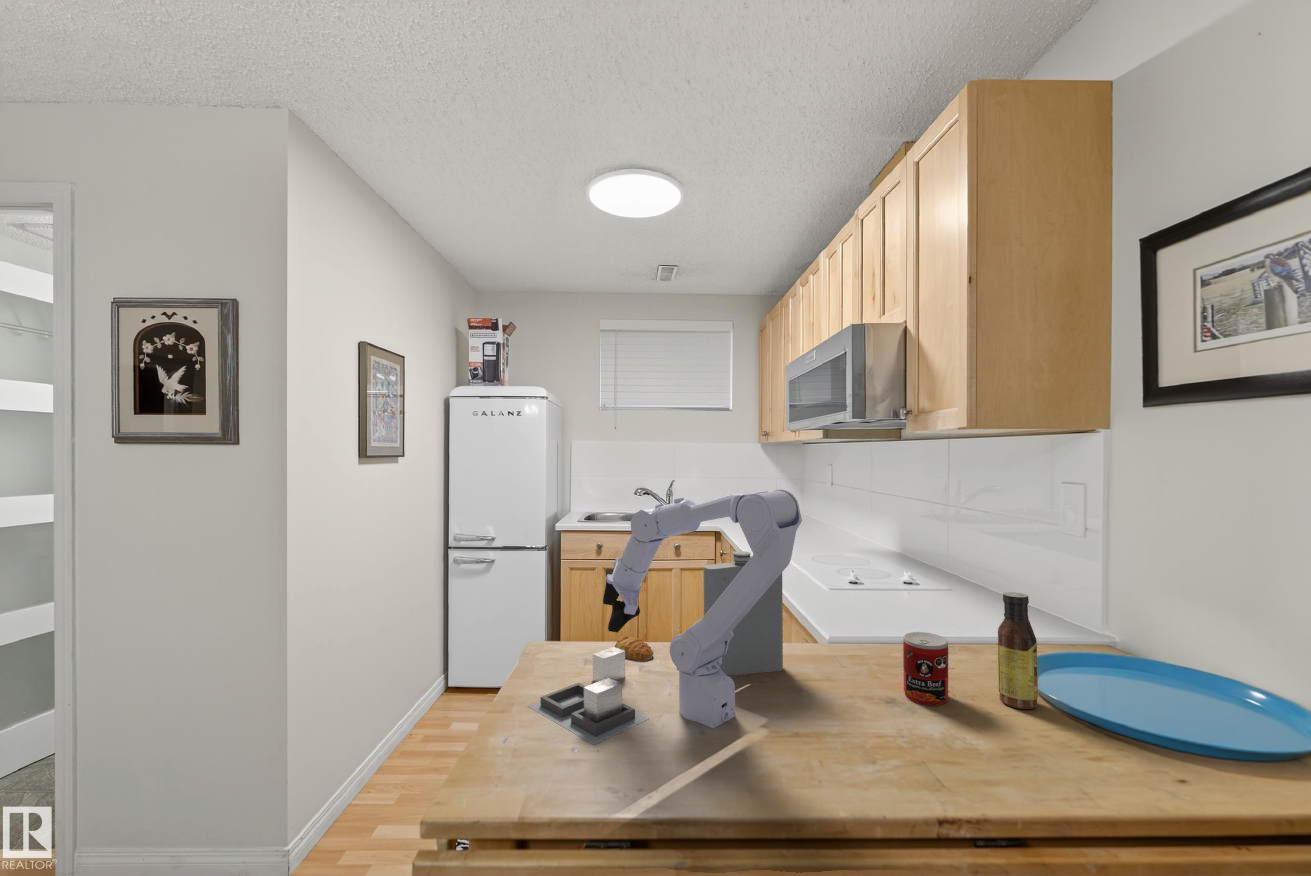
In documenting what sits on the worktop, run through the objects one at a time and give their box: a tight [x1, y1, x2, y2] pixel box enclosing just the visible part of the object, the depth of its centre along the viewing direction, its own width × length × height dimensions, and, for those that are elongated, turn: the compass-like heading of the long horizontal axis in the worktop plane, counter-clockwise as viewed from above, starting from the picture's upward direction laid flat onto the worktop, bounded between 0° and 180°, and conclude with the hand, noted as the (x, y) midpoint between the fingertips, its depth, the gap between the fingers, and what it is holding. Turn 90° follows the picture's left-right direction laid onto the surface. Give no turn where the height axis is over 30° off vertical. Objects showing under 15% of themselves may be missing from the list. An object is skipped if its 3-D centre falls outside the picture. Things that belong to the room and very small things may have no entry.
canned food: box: [902, 631, 949, 706], centre depth 111 cm, size 8×8×11 cm
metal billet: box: [592, 646, 626, 683], centre depth 117 cm, size 4×6×6 cm, turn 135°
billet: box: [584, 678, 623, 723], centre depth 100 cm, size 4×6×6 cm, turn 135°
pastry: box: [614, 635, 654, 662], centre depth 132 cm, size 9×7×4 cm
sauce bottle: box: [996, 591, 1039, 710], centre depth 108 cm, size 6×6×20 cm
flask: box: [702, 550, 784, 677], centre depth 124 cm, size 17×5×25 cm, turn 106°
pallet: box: [527, 682, 650, 746], centre depth 103 cm, size 19×12×3 cm, turn 45°
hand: (610, 616), depth 118 cm, fingers open, 7 cm apart
